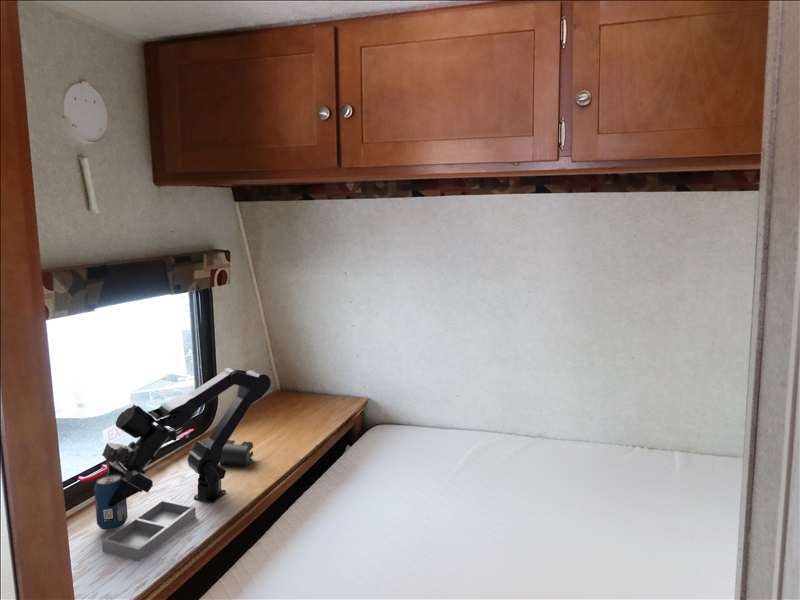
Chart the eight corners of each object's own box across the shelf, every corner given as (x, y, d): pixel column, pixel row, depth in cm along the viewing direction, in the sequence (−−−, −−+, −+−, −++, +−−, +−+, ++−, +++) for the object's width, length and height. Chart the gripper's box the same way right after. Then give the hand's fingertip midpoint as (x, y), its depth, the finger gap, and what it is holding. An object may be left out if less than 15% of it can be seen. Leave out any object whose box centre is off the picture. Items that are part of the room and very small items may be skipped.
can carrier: (162, 509, 157) (161, 499, 156) (195, 517, 154) (195, 506, 153) (102, 551, 138) (102, 540, 137) (139, 561, 135) (138, 549, 134)
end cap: (215, 467, 182) (214, 447, 181) (224, 457, 189) (224, 437, 188) (246, 470, 181) (245, 449, 180) (254, 460, 188) (254, 440, 187)
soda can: (101, 519, 149) (97, 474, 148) (130, 516, 151) (127, 471, 149) (93, 533, 142) (89, 486, 141) (124, 529, 144) (120, 483, 142)
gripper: (110, 420, 152) (66, 472, 146) (136, 443, 139) (89, 501, 133) (143, 440, 159) (102, 491, 153) (171, 464, 146) (127, 520, 140)
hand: (104, 500), depth 145 cm, fingers closed on soda can, 7 cm apart
